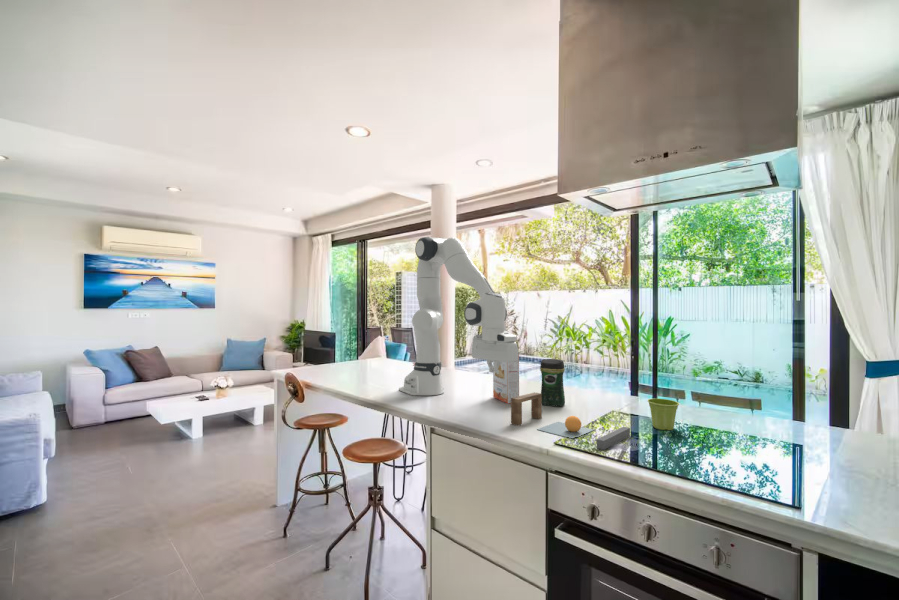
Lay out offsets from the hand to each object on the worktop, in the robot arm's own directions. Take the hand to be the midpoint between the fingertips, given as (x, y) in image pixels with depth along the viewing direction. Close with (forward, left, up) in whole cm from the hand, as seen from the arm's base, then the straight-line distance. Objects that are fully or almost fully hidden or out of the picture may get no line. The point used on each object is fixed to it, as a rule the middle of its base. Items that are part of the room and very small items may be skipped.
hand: (493, 372), depth 154 cm
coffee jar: (+8, +28, -15) cm, 33 cm away
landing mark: (+30, 0, -15) cm, 34 cm away
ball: (+33, 0, -13) cm, 35 cm away
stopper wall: (+46, 0, -15) cm, 48 cm away
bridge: (+15, 0, -15) cm, 21 cm away
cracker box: (-10, +20, -15) cm, 27 cm away
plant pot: (+51, +26, -15) cm, 59 cm away
